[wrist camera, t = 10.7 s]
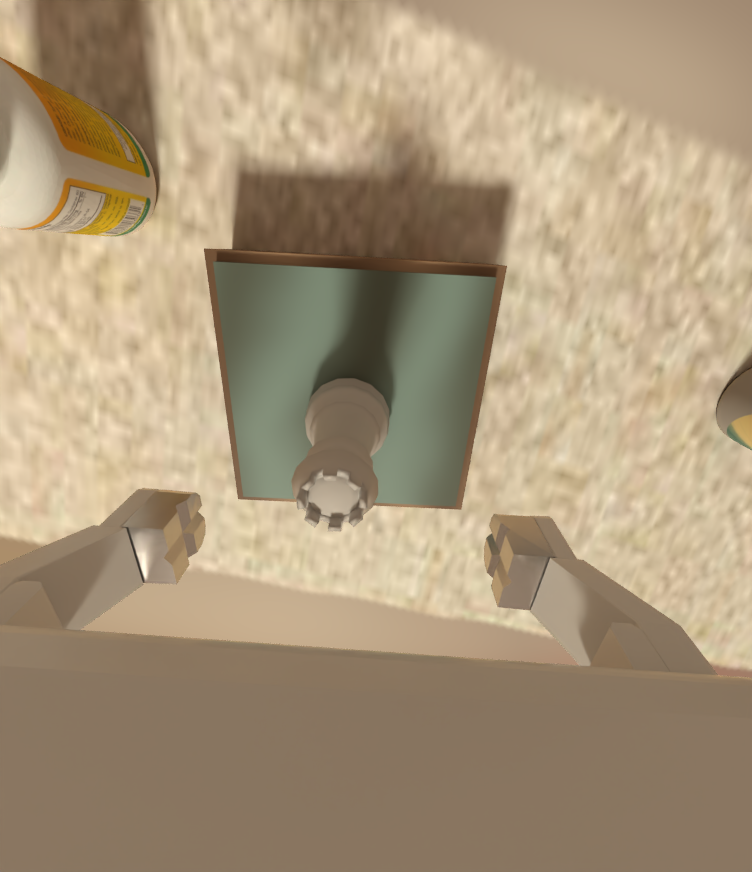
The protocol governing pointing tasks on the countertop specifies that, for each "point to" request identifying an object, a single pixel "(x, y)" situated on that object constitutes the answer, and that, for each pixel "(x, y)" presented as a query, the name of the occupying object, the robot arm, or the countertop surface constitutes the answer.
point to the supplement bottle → (67, 163)
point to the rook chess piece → (341, 453)
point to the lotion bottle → (737, 410)
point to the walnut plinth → (354, 362)
